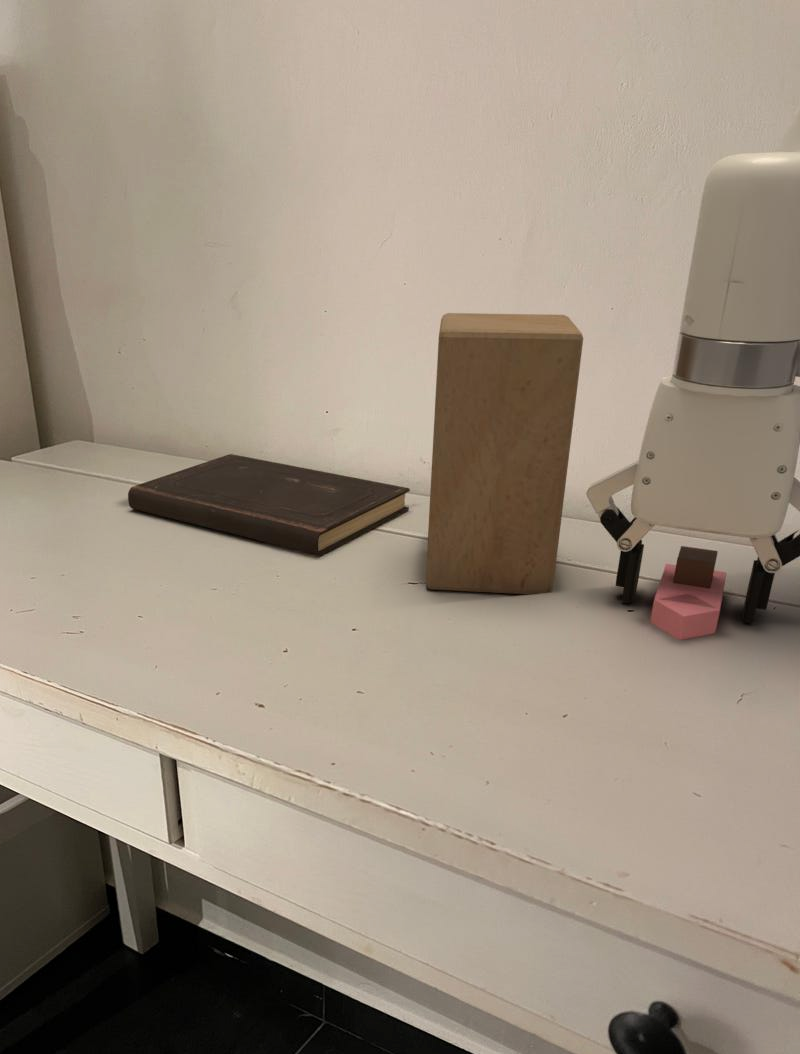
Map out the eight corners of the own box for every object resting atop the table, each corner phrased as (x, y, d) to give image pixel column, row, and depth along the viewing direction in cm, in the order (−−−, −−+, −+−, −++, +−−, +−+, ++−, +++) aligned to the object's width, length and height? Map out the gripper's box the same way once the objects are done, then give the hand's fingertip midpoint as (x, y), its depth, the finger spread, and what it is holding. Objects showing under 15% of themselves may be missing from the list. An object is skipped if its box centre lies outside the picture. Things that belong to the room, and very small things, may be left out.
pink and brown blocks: (660, 593, 73) (670, 539, 70) (720, 603, 71) (731, 547, 69) (644, 643, 65) (655, 583, 63) (711, 655, 63) (724, 594, 61)
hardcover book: (231, 473, 103) (230, 453, 102) (408, 510, 91) (409, 488, 90) (128, 510, 91) (126, 488, 90) (317, 558, 79) (317, 533, 78)
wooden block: (428, 547, 82) (441, 312, 73) (542, 552, 81) (569, 314, 72) (424, 591, 73) (439, 329, 64) (552, 597, 72) (585, 332, 63)
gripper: (879, 364, 60) (815, 607, 68) (608, 347, 67) (578, 570, 75) (889, 384, 54) (817, 648, 62) (590, 363, 61) (559, 604, 68)
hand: (687, 604), depth 68 cm, fingers open, 7 cm apart
